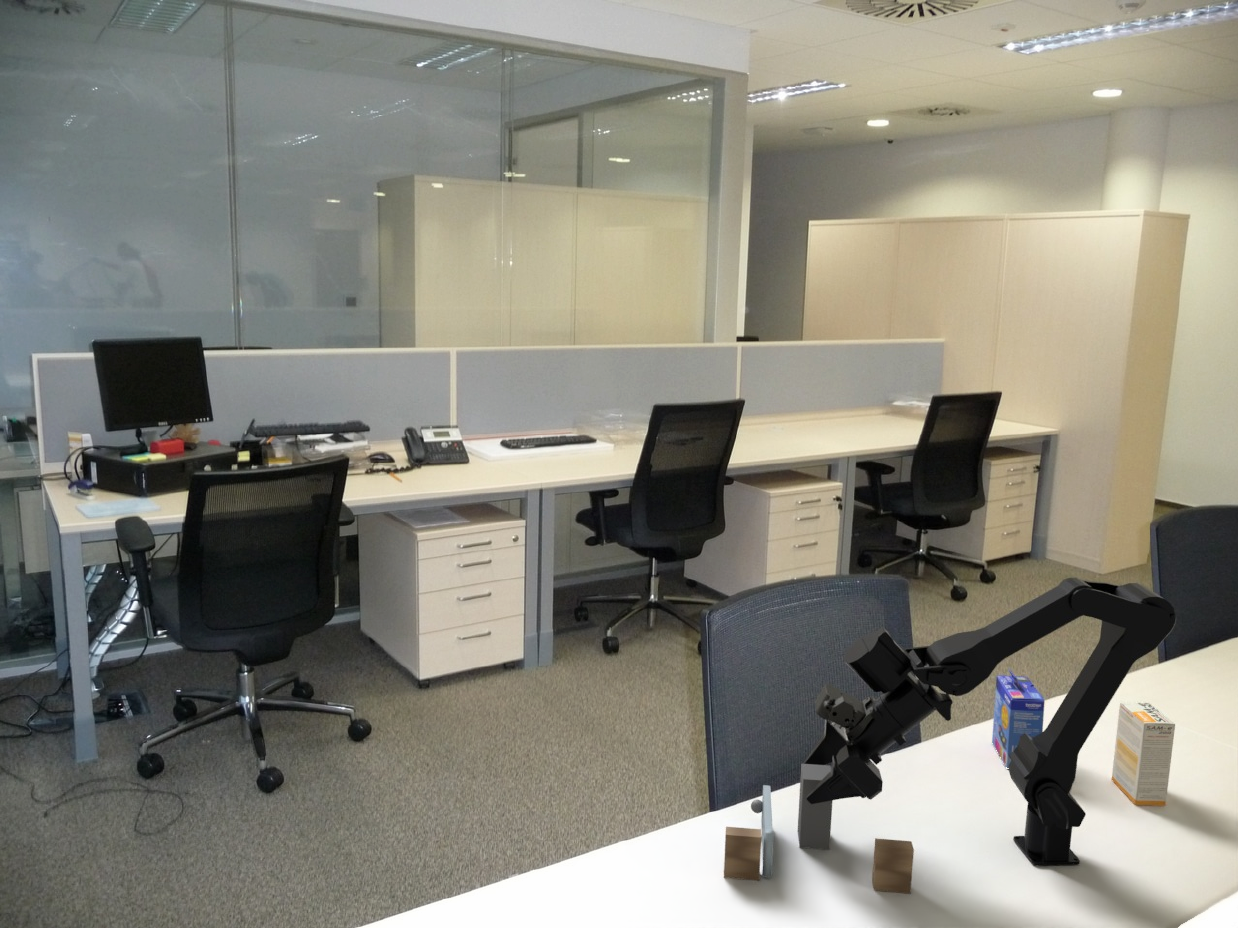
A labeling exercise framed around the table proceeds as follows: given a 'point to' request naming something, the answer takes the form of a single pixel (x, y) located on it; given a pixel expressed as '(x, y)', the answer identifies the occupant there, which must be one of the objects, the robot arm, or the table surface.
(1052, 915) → the table surface
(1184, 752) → the table surface
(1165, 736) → the supplement box
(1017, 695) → the ink cartridge box
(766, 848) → the door
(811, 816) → the tall gray pillar
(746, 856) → the wooden blocks
